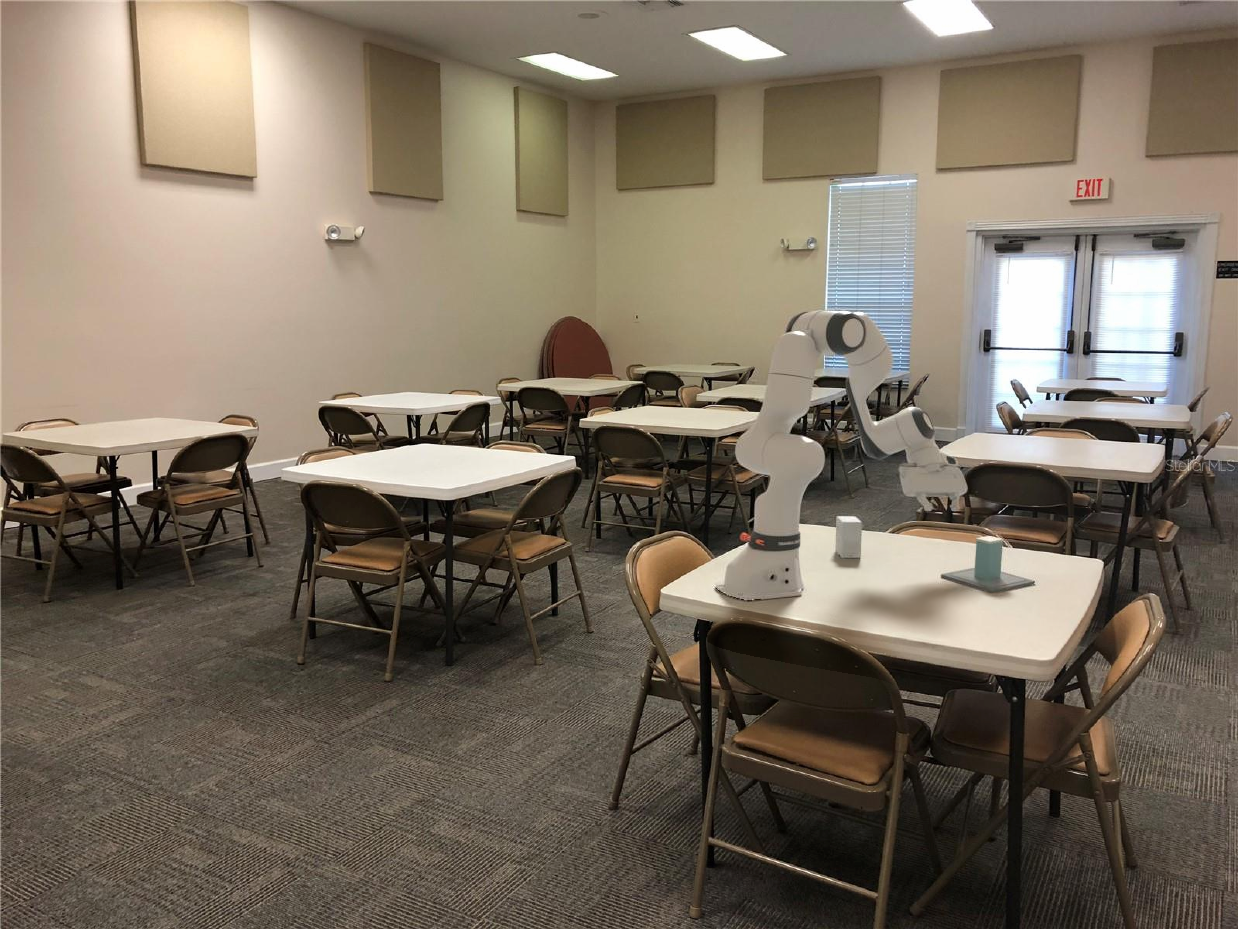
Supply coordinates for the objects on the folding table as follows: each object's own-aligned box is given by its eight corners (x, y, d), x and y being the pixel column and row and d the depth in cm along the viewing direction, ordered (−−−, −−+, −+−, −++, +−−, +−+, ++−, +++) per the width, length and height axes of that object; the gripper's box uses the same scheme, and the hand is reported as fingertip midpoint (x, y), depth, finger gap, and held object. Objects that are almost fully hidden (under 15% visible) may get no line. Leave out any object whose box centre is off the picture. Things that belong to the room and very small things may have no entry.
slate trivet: (992, 593, 221) (993, 589, 220) (940, 577, 234) (941, 573, 234) (1034, 584, 228) (1035, 580, 228) (982, 569, 242) (982, 565, 242)
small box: (860, 558, 253) (862, 522, 251) (841, 558, 253) (842, 522, 251) (854, 551, 261) (855, 515, 259) (834, 551, 261) (836, 515, 259)
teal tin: (987, 580, 228) (989, 541, 226) (973, 576, 232) (976, 538, 230) (1000, 577, 231) (1003, 539, 229) (987, 573, 234) (989, 535, 233)
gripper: (904, 457, 238) (920, 505, 232) (961, 459, 246) (979, 505, 241) (889, 468, 243) (905, 515, 237) (946, 469, 251) (962, 514, 246)
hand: (942, 510), depth 239 cm, fingers open, 8 cm apart
